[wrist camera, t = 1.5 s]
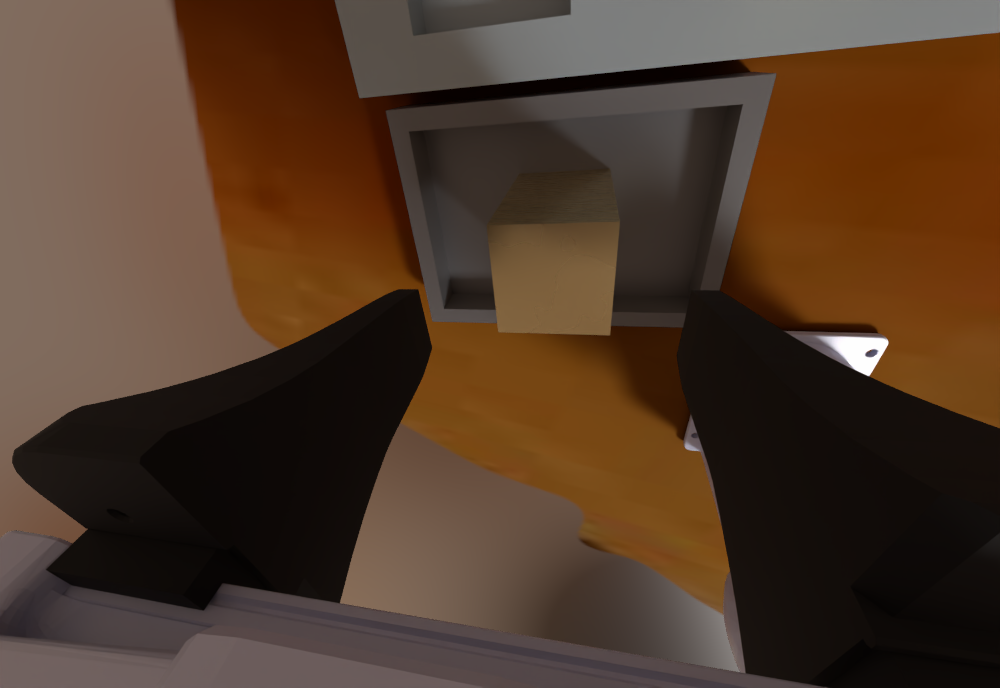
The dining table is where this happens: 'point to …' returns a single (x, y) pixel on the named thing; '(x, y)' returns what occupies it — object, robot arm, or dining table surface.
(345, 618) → the robot arm
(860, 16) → the grey pocketed tray
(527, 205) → the block
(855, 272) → the dining table surface
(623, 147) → the grey shallow rectangular tray
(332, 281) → the dining table surface
